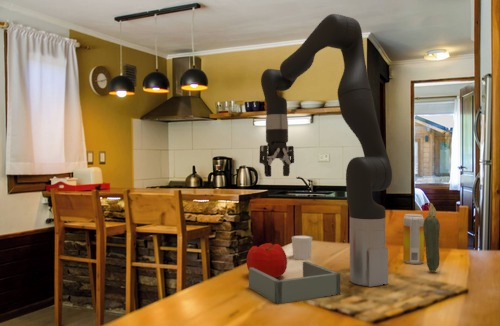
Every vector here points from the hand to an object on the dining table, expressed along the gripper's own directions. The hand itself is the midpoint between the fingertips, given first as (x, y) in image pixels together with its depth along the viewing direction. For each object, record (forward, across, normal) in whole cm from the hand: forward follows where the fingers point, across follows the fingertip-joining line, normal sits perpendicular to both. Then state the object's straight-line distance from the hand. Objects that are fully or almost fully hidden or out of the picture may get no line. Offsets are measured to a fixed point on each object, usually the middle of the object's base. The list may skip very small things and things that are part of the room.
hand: (277, 176), depth 161 cm
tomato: (+27, -24, -19) cm, 41 cm away
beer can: (+27, +24, -37) cm, 51 cm away
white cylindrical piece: (+27, +2, -9) cm, 28 cm away
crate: (+27, -28, -33) cm, 51 cm away
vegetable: (+28, +15, -47) cm, 56 cm away
